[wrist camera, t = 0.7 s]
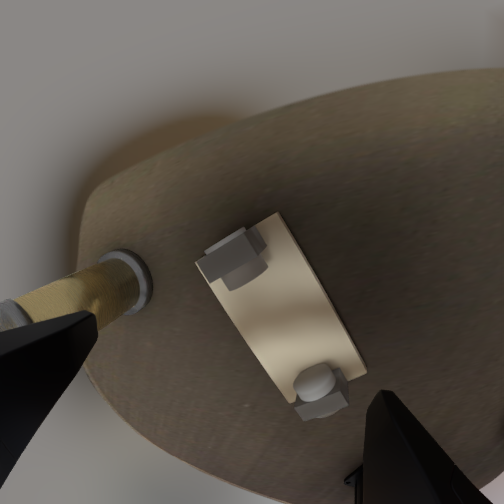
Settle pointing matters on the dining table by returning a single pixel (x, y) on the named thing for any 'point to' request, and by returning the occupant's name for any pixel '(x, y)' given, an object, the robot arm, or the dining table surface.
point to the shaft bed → (284, 315)
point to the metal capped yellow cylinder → (86, 293)
